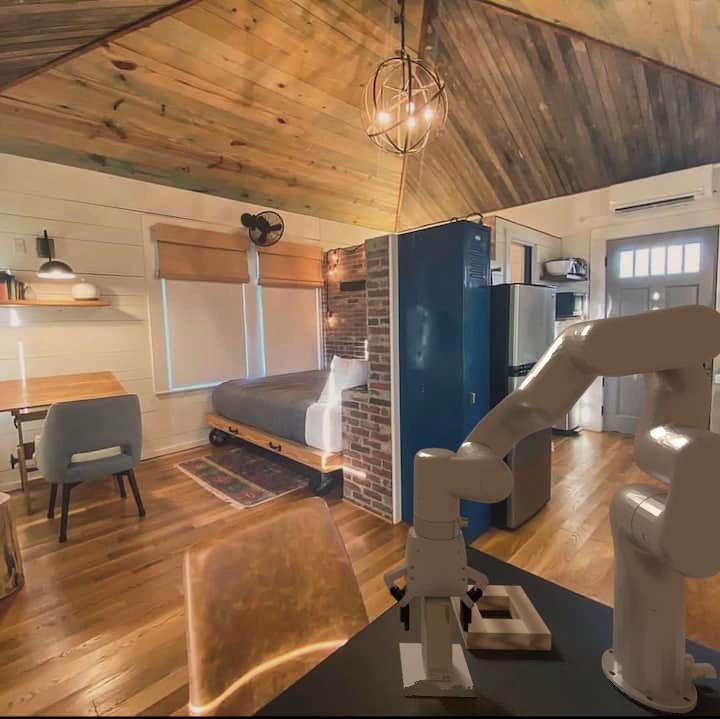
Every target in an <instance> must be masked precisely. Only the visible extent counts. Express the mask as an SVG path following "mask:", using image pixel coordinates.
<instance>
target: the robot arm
mask: <svg viewBox="0 0 720 719" xmlns="http://www.w3.org/2000/svg"><path fill="white" fill-rule="evenodd" d="M719 355H720V312H719V311H718V310H716V309H715V308H712V307H710V306H707V305H702V304H696V303H695V304H692V303H690V304H683V305H677V306H671V307H666V308H657V309H651V310H646V311H642V312H641V311H640V312H639V313H636V314H629V315H623V316H615V317H613V316H612V317H605V318H599V319H593V320H592V319H591V320H585V321H579V322H575V323H572V324H570V325H569V326H567V327H565V328H563V330H562V331H561V332H560V333H559V334H558V335H557V336H556V337H555V338H554V340H553V341H552V343H550V345H549V346H548V347H547V349H546V350H545V351H544V352H543V354H542V355H541V356H540V358H539V359H538V360H537V361H536V363H535V364H534V365H533V367H531V369H530V370H529V371H528V373H527V374H526V375H525V376H524V378H523V379H522V380H521V381H520V383H519V384H518V385H517V386H516V387H515V389H513V391H511V392H510V394H508V395H506V396H505V398H503V399H502V400H501V401H500V402H499V403H498V404H497V405H495V407H494V408H492V409H491V410H490V411H489V412H488V413H487V414H485V416H483V417H482V419H481V420H480V421H479V422H478V423H477V424H476V425H475V426H474V428H473V429H472V431H471V432H470V433H469V434H468V435H467V437H466V438H465V440H464V441H463V442H462V443H461V445H460V446H459V447H458V450H457V452H454V451H453V450H450V449H445V448H439V447H438V448H437V447H432V448H431V447H429V448H423V449H420V450H419V451H417V452H416V454H414V457H413V458H414V459H413V514H412V515H413V518H412V519H413V520H412V522H413V523H412V524H413V526H411V527H410V528H408V532H407V536H406V543H405V553H404V563H403V564H401V565H399V566H398V567H395V568H393V569H392V570H390V571H388V572H385V573H384V574H383V582H384V583H385V586H386V587H387V590H388V591H389V594H390V596H392V597H393V598H394V599H395V600H396V601H397V602H398V605H399V621H400V623H403V625H404V632H409V631H410V614H411V612H410V609H411V608H410V601H412V599H413V598H414V597H421V598H422V597H460V598H461V599H460V622H461V625H462V628H463V631H465V632H468V626H469V624H471V623H472V608H473V607H474V603H475V602H477V601H478V600H479V599H480V598H481V597H482V596H483V591H484V590H485V589H486V587H487V585H489V583H490V581H489V579H488V577H487V575H485V574H484V573H482V572H480V571H478V570H477V569H475V568H473V567H471V566H469V565H468V561H467V552H466V544H465V543H466V542H465V539H464V535H463V531H462V528H464V527H469V519H468V517H462V516H461V515H460V502H461V501H460V499H462V500H463V499H464V500H468V501H473V502H476V503H477V502H478V503H483V504H493V503H494V504H495V503H500V502H501V501H504V500H505V499H506V498H508V496H510V494H511V493H512V491H513V488H514V483H515V482H514V477H513V472H512V470H511V469H510V466H508V465H507V463H506V462H505V461H504V458H505V457H506V455H508V453H509V452H510V451H511V450H512V448H514V447H515V446H516V445H517V444H518V443H519V442H520V441H521V440H522V439H524V438H525V437H527V436H529V435H532V434H533V433H536V432H539V431H542V430H543V431H544V430H546V429H549V428H552V427H554V426H556V425H558V424H559V423H561V422H562V421H563V420H564V419H565V418H566V417H567V415H568V414H569V412H570V411H572V409H573V408H574V407H575V405H576V404H577V403H578V401H579V400H580V398H582V396H583V395H584V394H585V393H586V392H587V390H588V389H589V388H590V387H591V385H592V384H593V383H594V382H595V381H596V379H597V378H598V377H605V378H606V377H607V378H617V377H618V378H619V377H627V376H636V375H642V376H643V381H644V394H643V402H642V406H641V411H640V415H639V418H638V424H637V428H636V431H635V436H634V440H633V443H632V459H633V462H634V464H635V466H637V468H638V469H639V470H641V472H643V473H644V474H646V475H648V476H649V477H651V478H654V479H655V480H658V481H659V482H661V483H663V484H666V485H667V486H668V491H666V490H664V489H663V488H660V487H658V486H656V485H655V486H654V485H652V484H649V483H643V482H633V483H629V484H625V485H623V486H620V488H618V489H617V490H616V491H615V492H614V494H612V497H611V499H610V503H609V508H608V510H609V511H608V512H609V513H608V515H609V516H608V517H609V524H610V525H609V526H610V530H611V536H612V544H613V556H614V560H613V562H614V563H613V564H614V565H613V567H614V568H613V570H614V572H613V573H614V574H613V616H612V619H613V621H612V622H613V623H612V625H613V626H612V647H610V648H609V649H606V650H605V651H604V652H603V654H602V656H601V668H602V671H603V673H604V675H606V676H605V677H606V678H607V680H608V679H609V680H610V681H611V682H612V683H613V684H614V685H615V686H616V687H618V688H619V689H620V690H621V691H623V692H625V693H626V694H627V695H629V696H631V697H632V698H634V699H635V700H638V701H640V702H641V703H644V704H646V705H649V706H652V707H654V708H656V709H660V710H664V711H667V712H673V713H679V714H680V713H681V714H686V713H688V712H689V713H690V712H692V711H693V710H694V709H695V707H696V706H697V705H698V704H697V702H698V693H697V689H696V686H695V684H694V682H692V681H696V680H698V678H701V679H716V678H717V675H718V674H717V671H716V669H715V667H714V665H712V663H708V662H697V663H695V662H696V661H695V658H694V656H693V655H692V654H691V653H686V623H687V622H686V621H687V620H686V619H687V613H686V612H687V611H686V610H687V578H689V579H693V580H694V579H695V580H705V579H710V578H712V577H715V576H716V575H718V574H720V433H717V432H714V431H710V430H708V425H709V419H710V412H711V407H712V402H713V401H712V399H713V390H712V387H713V386H712V383H711V380H710V377H709V375H708V372H707V370H706V369H705V367H704V365H703V364H705V363H708V362H710V361H712V360H713V359H715V358H717V357H718V356H719ZM403 577H404V582H405V584H404V585H403V586H402V587H401V588H400V587H399V586H398V585H397V584H396V583H395V581H398V580H399V579H401V578H403ZM469 579H470V580H473V581H475V584H473V585H474V586H473V587H472V588H471V589H470V590H469V591H468V585H469ZM609 680H608V681H609ZM610 681H609V682H610ZM611 682H610V683H611ZM612 683H611V684H612ZM613 684H612V685H613ZM614 685H613V686H614ZM616 687H615V688H616Z"/></svg>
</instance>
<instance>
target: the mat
mask: <svg viewBox="0 0 720 719" xmlns="http://www.w3.org/2000/svg"><path fill="white" fill-rule="evenodd" d="M398 645H399V652H400V654H399V655H400V664H401V671H402V672H401V673H402V674H403V675H402V681H403V683H404V684H403V689H404V688H405V687H409V686H412V685H414V684H415V683H414V682H416V681H419V680H425V679H426V675H425V671H424V666H423V661H422V654H421V650H422V642H421V643H416V642H399V644H398ZM426 680H427V679H426ZM427 681H429V682H432V683H433V682H435V683H436V685H438V686H439V688H440V687H441V688H440V689H442V690H444V689H446V690H448V689H450V688H451V687H453V686H454V685H456V684H457V685H459V684H461V685H463V686H464V687H465V689H467V688H468V687H469V686H470V690H471V689H472V688H473V687H472V686H474V682H473V680H472V677H471V674H470V670H469V667H468V664H467V661H466V657H465V655H464V651H463V648H462V645H461V644H460V643H452V680H451V681H438V680H433V681H432V680H427ZM416 683H417V682H416ZM435 683H434V684H435ZM457 685H456V686H457ZM461 685H460V686H461ZM438 686H437V687H438ZM463 686H462V687H463ZM464 687H463V688H464ZM463 688H462V689H463ZM451 689H452V688H451ZM451 689H450V690H451ZM465 689H464V690H465ZM468 689H469V688H468ZM468 689H467V690H468ZM474 689H475V688H474ZM474 689H473V690H474Z"/></svg>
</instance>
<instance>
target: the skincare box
mask: <svg viewBox="0 0 720 719" xmlns="http://www.w3.org/2000/svg"><path fill="white" fill-rule="evenodd" d="M421 643H422V650H421V654H422V661H423V666H424V671H425V675H426V679H427V680H438V681H451V680H452V644H453V606H452V601H451V598H450V597H422V596H421Z"/></svg>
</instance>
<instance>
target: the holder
mask: <svg viewBox="0 0 720 719" xmlns="http://www.w3.org/2000/svg"><path fill="white" fill-rule="evenodd" d="M474 585H475V584H468V591H469V590H470V589H471V588H472V587H473V586H474ZM450 598H451V601H452V610H453V612H454V614H455V618H456V621H457V623H458V627H459V631H460V633H461V636H462V639H463V642H464V644H465V648H466V649H469V650H470V649H471V650H472V649H474V650H512V651H513V650H515V651H552V633H551V631H550V629H549V628H548V627H547V625H546V624H545V622H544V620H543V618H542V617H541V616H540V614H539V612H538V611H537V609H536V608H535V607H534V605H533V604H532V602H531V600H530V599H529V597H528V596H527V594H526V593H525V591H524V589H523V588H522V586H521V585H495V584H494V585H493V584H492V585H491V584H488V585H487V587H486V589H485V590H484V591H483V596H482V597H481V598H480V599H479V600H478V601H477V602H475V603H474V607H473V608H472V623H471V624H469V626H468V632H465V631H463V628H462V625H461V622H460V599H461V598H460V597H450ZM480 611H508V612H509V614H510V615H509V616H511V618H512V619H511V618H483V617H482V615H481V613H480ZM517 649H518V650H517ZM519 649H520V650H519ZM521 649H522V650H521Z"/></svg>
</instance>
